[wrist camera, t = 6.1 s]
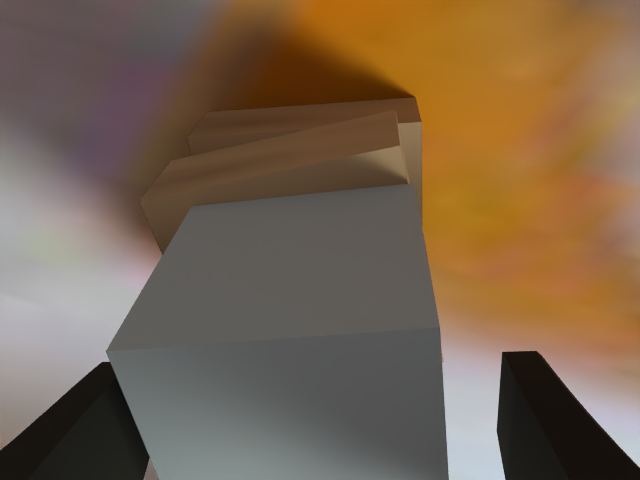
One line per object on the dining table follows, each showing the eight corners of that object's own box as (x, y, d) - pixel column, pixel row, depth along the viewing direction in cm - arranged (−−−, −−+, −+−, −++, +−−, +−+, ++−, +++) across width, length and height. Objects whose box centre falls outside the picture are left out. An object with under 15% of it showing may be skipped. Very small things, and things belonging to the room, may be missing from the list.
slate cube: (427, 360, 15) (451, 545, 11) (238, 373, 16) (188, 552, 11) (414, 182, 12) (440, 326, 8) (191, 206, 13) (105, 351, 9)
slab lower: (417, 271, 19) (423, 316, 17) (242, 278, 20) (226, 322, 18) (414, 93, 17) (421, 121, 14) (209, 109, 17) (186, 137, 15)
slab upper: (434, 304, 17) (443, 362, 15) (242, 335, 18) (224, 393, 16) (395, 109, 14) (400, 145, 12) (171, 160, 15) (138, 201, 13)
